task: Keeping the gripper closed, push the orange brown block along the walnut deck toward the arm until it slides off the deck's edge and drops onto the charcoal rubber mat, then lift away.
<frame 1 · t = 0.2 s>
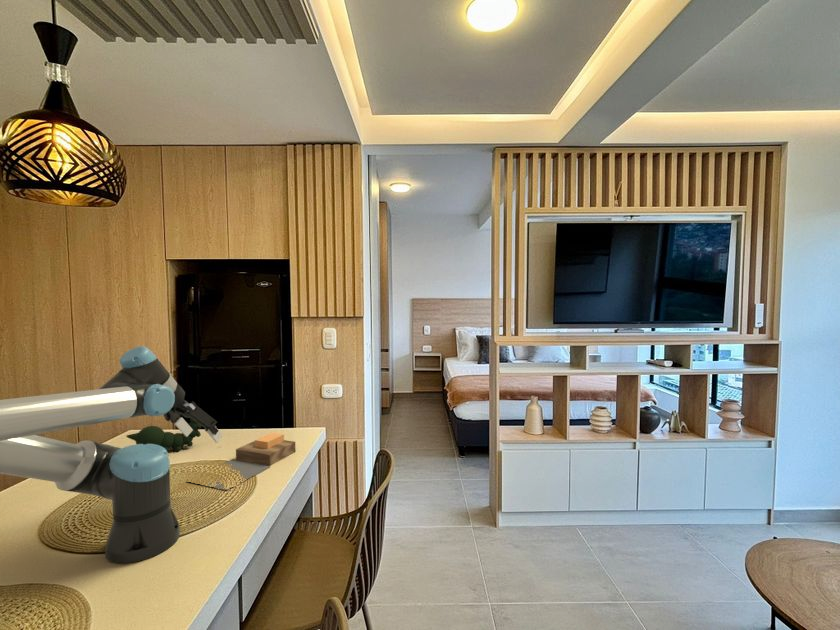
hand: (204, 436, 131), 16 cm above the breakfast bar, tool tilted 35°, fingers open, 13 cm apart
toy figurine: (166, 452, 161), on the breakfast bar
orange brown block: (269, 443, 157), point 4 cm above the breakfast bar, touching walnut deck
walnut deck: (266, 455, 155), on the breakfast bar
trading card: (152, 473, 143), on the breakfast bar
charcoal mat: (229, 474, 139), on the breakfast bar
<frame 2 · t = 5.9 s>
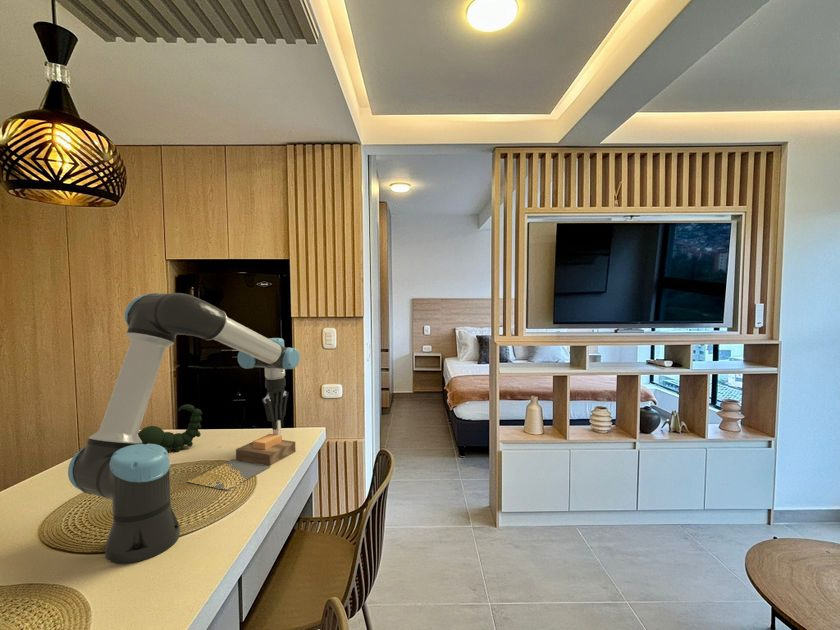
hand: (277, 436, 161), 5 cm above the breakfast bar, tool pointing down, fingers closed
orange brown block: (267, 444, 156), point 4 cm above the breakfast bar, touching gripper, walnut deck
everything else where it was.
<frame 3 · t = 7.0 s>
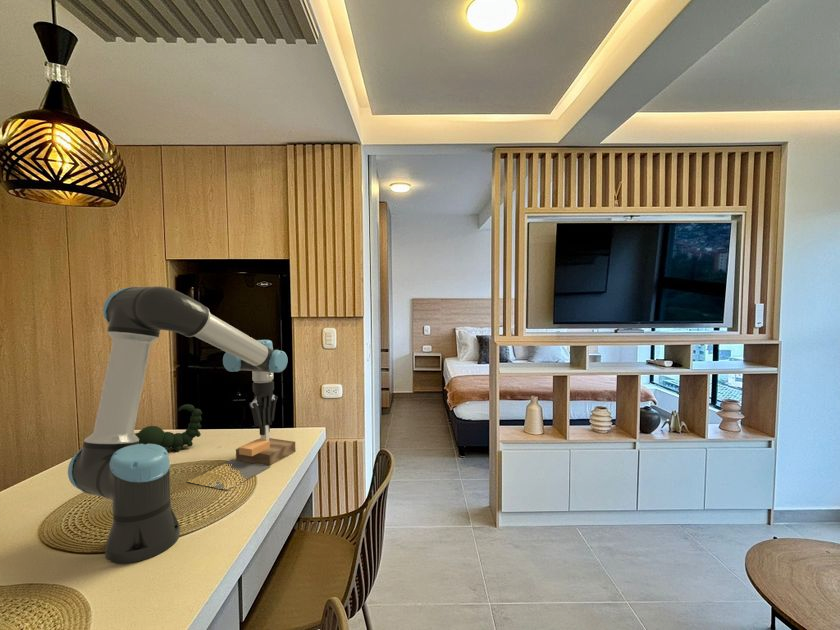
hand: (265, 442, 155), 5 cm above the breakfast bar, tool pointing down, fingers closed
orange brown block: (254, 450, 150), point 4 cm above the breakfast bar
everything else where it was.
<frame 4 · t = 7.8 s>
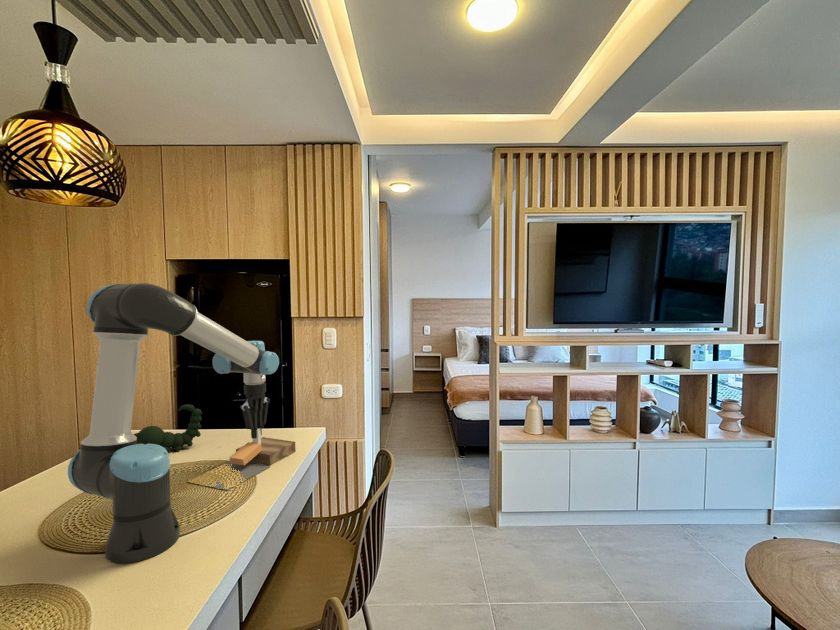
hand: (256, 445, 151), 5 cm above the breakfast bar, tool pointing down, fingers closed
orange brown block: (247, 456, 146), point 3 cm above the breakfast bar, tilted 15°, touching gripper
everything else where it was.
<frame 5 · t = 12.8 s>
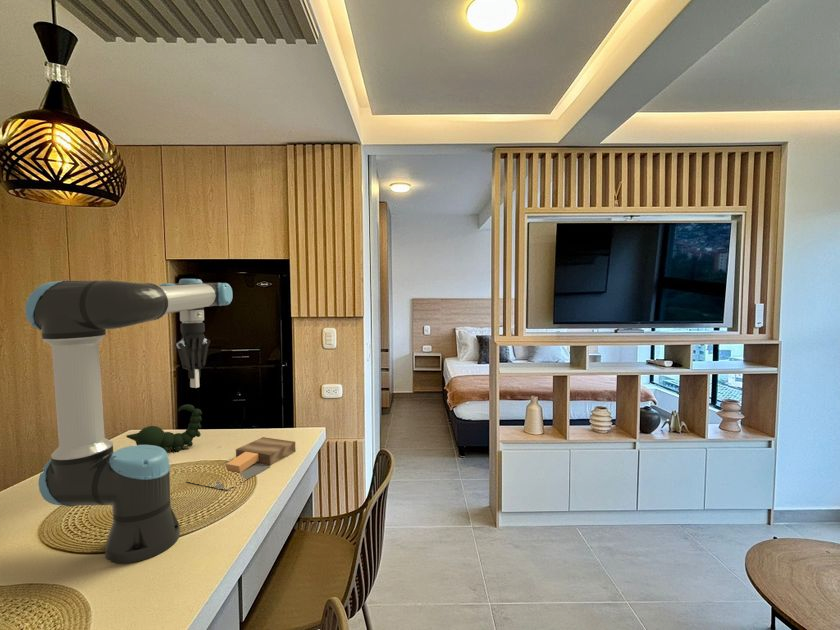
hand: (194, 387, 147), 28 cm above the breakfast bar, tool pointing down, fingers closed
orange brown block: (243, 465, 145), point 1 cm above the breakfast bar, tilted 7°, touching charcoal mat, walnut deck
everything else where it was.
at the end: orange brown block inside the target area (5.0 cm from its centre), point 0.9 cm above the breakfast bar; orange brown block moved 13.8 cm from its start; the gripper is holding nothing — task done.
